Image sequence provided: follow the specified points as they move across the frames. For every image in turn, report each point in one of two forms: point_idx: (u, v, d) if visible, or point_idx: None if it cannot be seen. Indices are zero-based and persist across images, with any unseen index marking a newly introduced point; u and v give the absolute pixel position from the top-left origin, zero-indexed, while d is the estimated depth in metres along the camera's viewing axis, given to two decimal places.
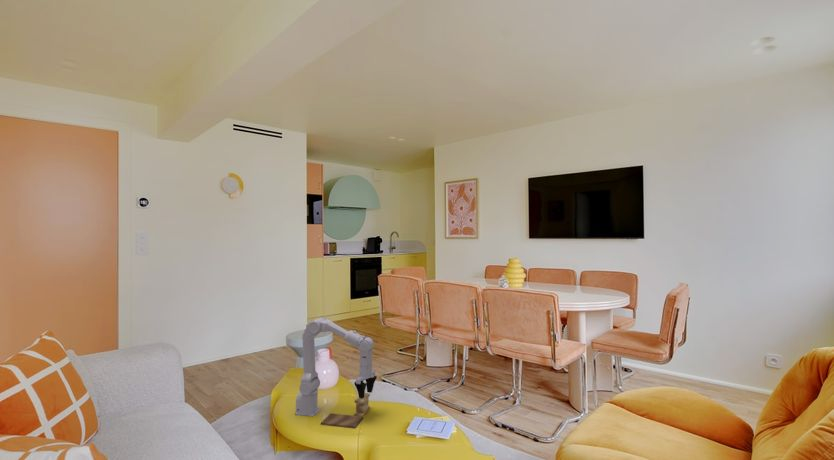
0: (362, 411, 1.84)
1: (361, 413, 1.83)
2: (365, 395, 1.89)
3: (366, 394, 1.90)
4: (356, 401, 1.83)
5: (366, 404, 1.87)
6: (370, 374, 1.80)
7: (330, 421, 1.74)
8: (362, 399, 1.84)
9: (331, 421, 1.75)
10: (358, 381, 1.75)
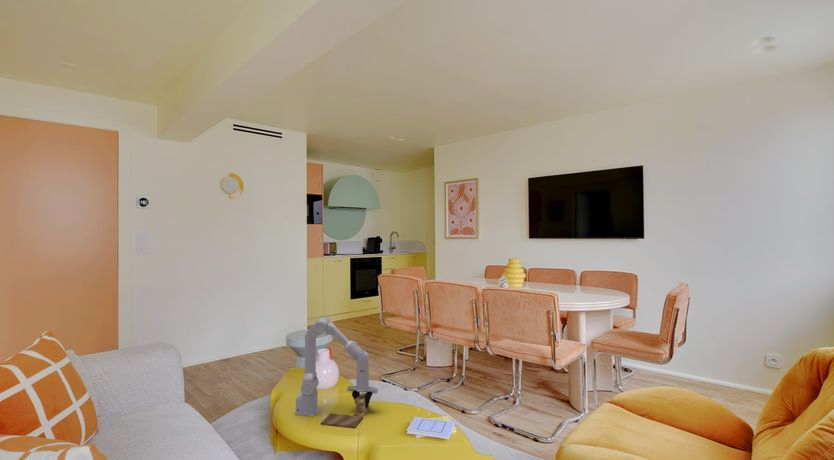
0: (362, 411, 1.84)
1: (361, 413, 1.83)
2: None
3: None
4: (356, 401, 1.83)
5: None
6: (359, 388, 1.85)
7: (330, 421, 1.74)
8: (362, 399, 1.84)
9: (331, 421, 1.75)
10: None
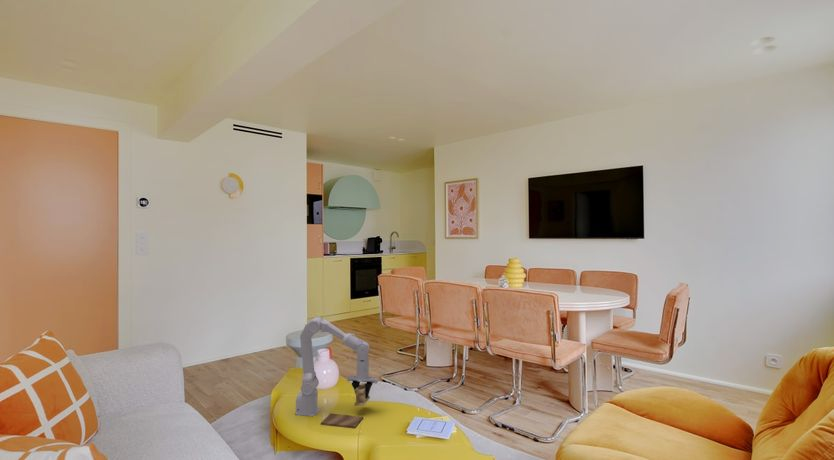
0: (362, 401, 1.84)
1: (361, 403, 1.83)
2: None
3: None
4: (356, 391, 1.83)
5: None
6: (359, 378, 1.85)
7: (330, 421, 1.74)
8: (362, 389, 1.84)
9: (331, 421, 1.75)
10: None
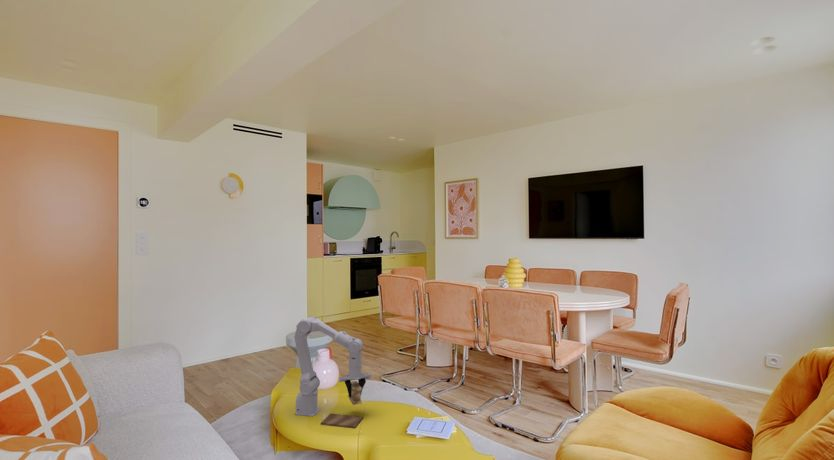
0: (358, 398, 1.81)
1: (359, 400, 1.80)
2: (355, 383, 1.86)
3: (355, 382, 1.87)
4: (355, 389, 1.79)
5: None
6: (355, 376, 1.81)
7: (330, 421, 1.74)
8: (358, 386, 1.81)
9: (331, 421, 1.75)
10: (339, 379, 1.81)
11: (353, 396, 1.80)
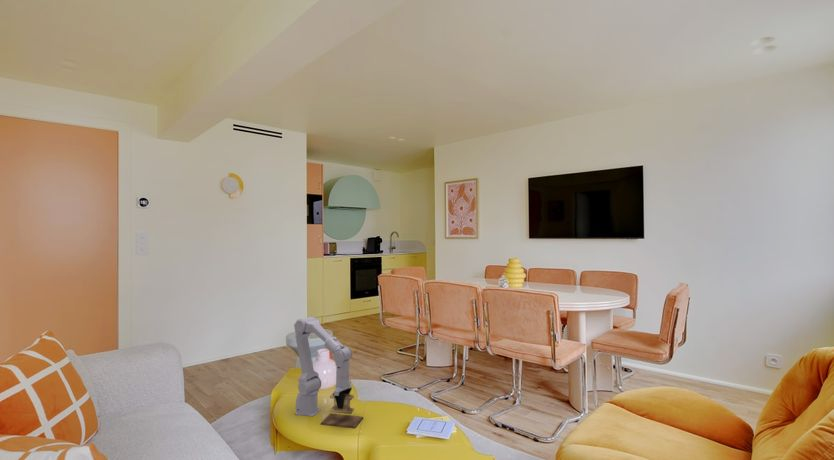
0: (349, 407, 1.77)
1: (351, 408, 1.77)
2: None
3: None
4: (351, 397, 1.75)
5: None
6: (347, 385, 1.76)
7: (330, 421, 1.74)
8: (349, 394, 1.77)
9: (331, 421, 1.75)
10: (336, 393, 1.70)
11: (347, 406, 1.75)
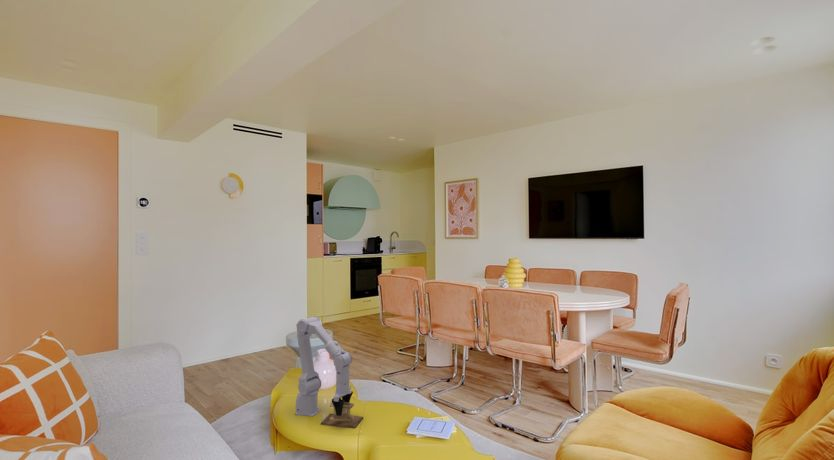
0: (349, 415, 1.77)
1: (351, 417, 1.77)
2: None
3: None
4: (351, 406, 1.75)
5: None
6: (347, 390, 1.76)
7: (330, 421, 1.74)
8: (349, 403, 1.77)
9: (331, 421, 1.75)
10: (336, 398, 1.70)
11: (347, 414, 1.75)
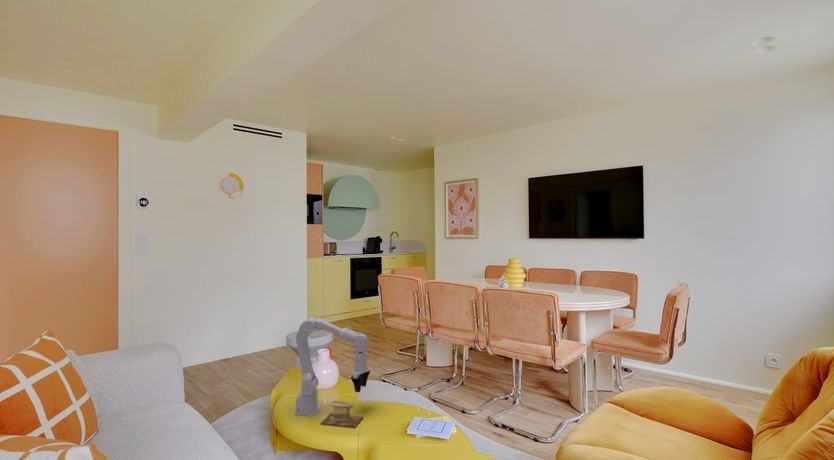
0: (349, 415, 1.77)
1: (351, 417, 1.77)
2: (338, 402, 1.78)
3: (336, 402, 1.78)
4: (351, 406, 1.75)
5: None
6: (365, 368, 1.87)
7: (330, 421, 1.74)
8: (349, 403, 1.77)
9: (331, 421, 1.75)
10: (355, 376, 1.81)
11: (347, 414, 1.75)
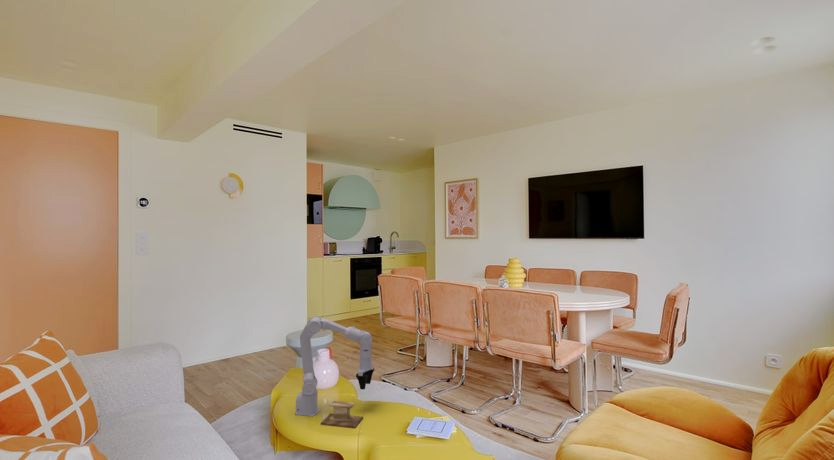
0: (349, 415, 1.77)
1: (351, 417, 1.77)
2: (338, 402, 1.78)
3: (336, 402, 1.78)
4: (351, 406, 1.75)
5: None
6: (370, 366, 1.91)
7: (330, 421, 1.74)
8: (349, 403, 1.77)
9: (331, 421, 1.75)
10: (360, 373, 1.85)
11: (347, 414, 1.75)
